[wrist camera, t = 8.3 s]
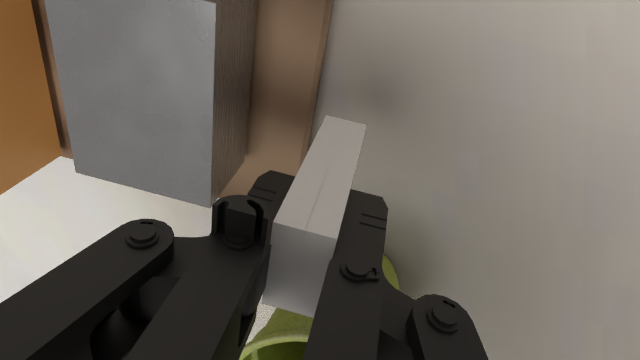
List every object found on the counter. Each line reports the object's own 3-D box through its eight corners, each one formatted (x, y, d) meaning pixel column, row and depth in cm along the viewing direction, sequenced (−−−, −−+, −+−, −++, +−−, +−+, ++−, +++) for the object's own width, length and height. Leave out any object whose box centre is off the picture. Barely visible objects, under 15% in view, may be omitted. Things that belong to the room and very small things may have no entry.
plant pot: (306, 189, 24) (257, 306, 17) (456, 256, 24) (472, 399, 17) (260, 290, 29) (207, 412, 22) (384, 343, 29) (373, 482, 22)
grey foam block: (244, 161, 21) (210, 207, 17) (130, 132, 21) (75, 172, 18) (257, -14, 16) (216, 3, 13) (114, -46, 17) (37, -37, 13)
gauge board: (299, 196, 24) (268, 268, 19) (-74, 99, 26) (-192, 141, 21) (349, -90, 16) (318, -95, 11) (-185, -198, 18) (-412, -242, 13)
